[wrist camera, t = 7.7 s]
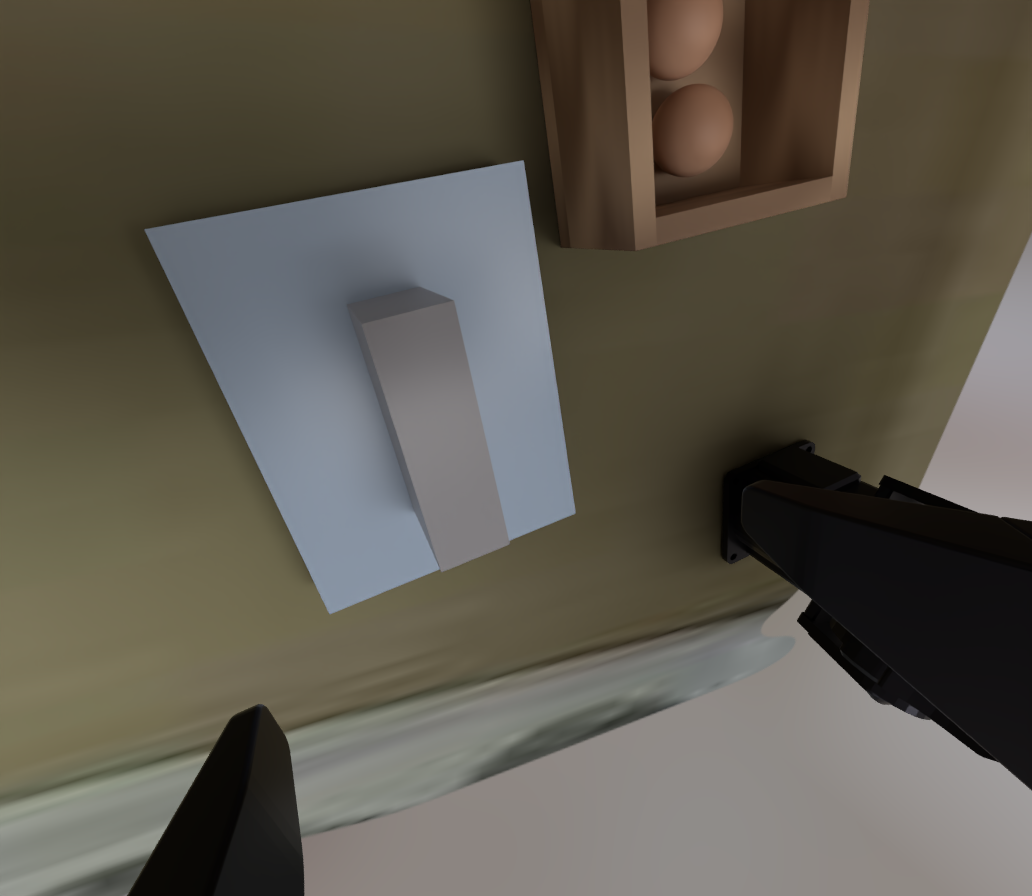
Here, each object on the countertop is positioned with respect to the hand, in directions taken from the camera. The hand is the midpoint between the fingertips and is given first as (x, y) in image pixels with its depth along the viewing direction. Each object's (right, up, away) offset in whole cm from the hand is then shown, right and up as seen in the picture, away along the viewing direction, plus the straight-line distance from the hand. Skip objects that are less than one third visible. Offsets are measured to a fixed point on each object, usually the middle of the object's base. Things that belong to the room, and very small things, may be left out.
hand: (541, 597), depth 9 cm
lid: (-5, +5, +11) cm, 13 cm away
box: (+4, +17, +10) cm, 20 cm away
